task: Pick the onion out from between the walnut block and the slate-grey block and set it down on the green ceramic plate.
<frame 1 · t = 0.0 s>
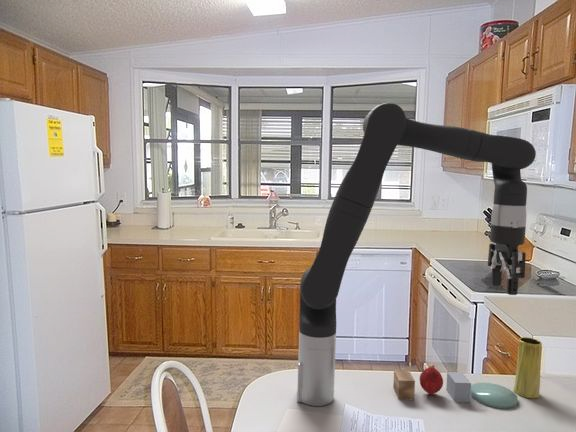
hand: (503, 289, 106), 29 cm above the table, tool pointing down, fingers open, 8 cm apart
slate block: (457, 396, 113), on the table
walnut block: (403, 393, 114), on the table
vase: (526, 393, 116), on the table
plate: (492, 397, 113), on the table
onion: (430, 395, 113), on the table
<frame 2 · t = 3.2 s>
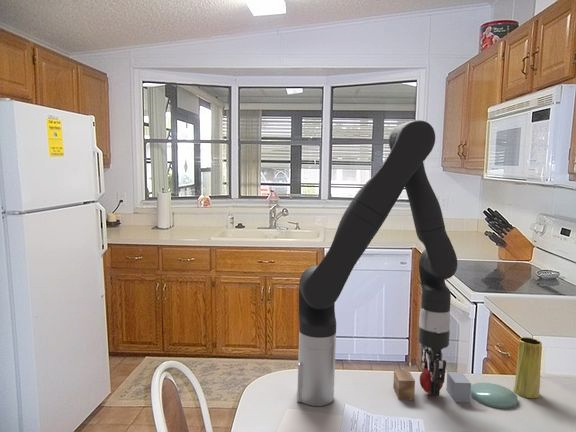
hand: (430, 388, 113), 2 cm above the table, tool pointing down, fingers closed on onion, 6 cm apart
onion: (430, 395, 113), on the table, touching gripper
everything else where it was.
when the fingers open (4 cm above the table, at t = 10.2 s): onion drops 1 cm, resting on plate.
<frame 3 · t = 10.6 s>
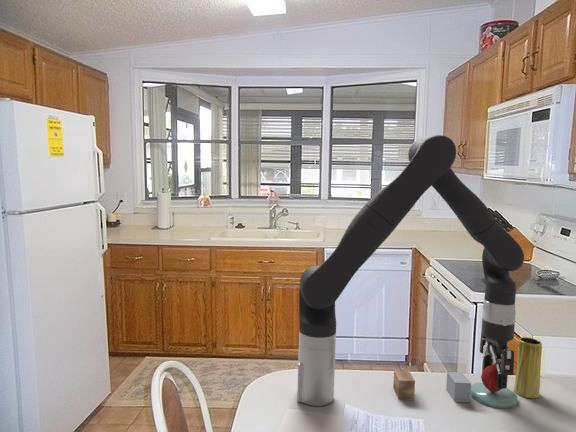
hand: (494, 379, 112), 5 cm above the table, tool pointing down, fingers open, 8 cm apart
onion: (492, 393, 113), point 1 cm above the table, touching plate
everything else where it was.
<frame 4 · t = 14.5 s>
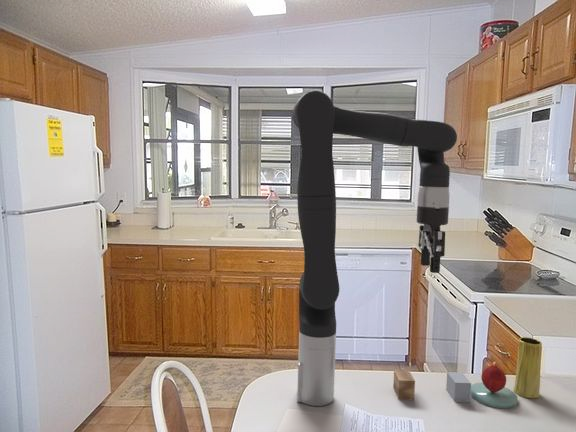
hand: (429, 268, 111), 33 cm above the table, tool pointing down, fingers open, 8 cm apart
nothing on the table moved.
at the end: onion inside the target area on the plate (0.1 cm from its centre), point 1.0 cm above the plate's base; the gripper is holding nothing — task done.
